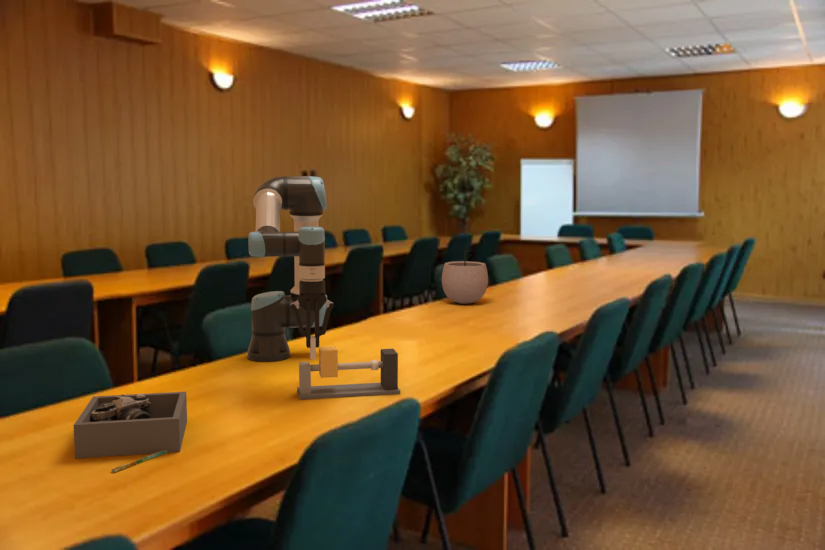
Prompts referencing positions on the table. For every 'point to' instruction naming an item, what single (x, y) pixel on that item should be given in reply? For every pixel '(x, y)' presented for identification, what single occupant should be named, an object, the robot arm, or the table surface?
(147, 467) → the table surface
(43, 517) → the table surface
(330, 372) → the sleeve
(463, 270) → the plant pot
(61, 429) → the table surface
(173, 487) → the table surface
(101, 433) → the open storage box
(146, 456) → the pencil
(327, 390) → the rail
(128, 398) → the camera
